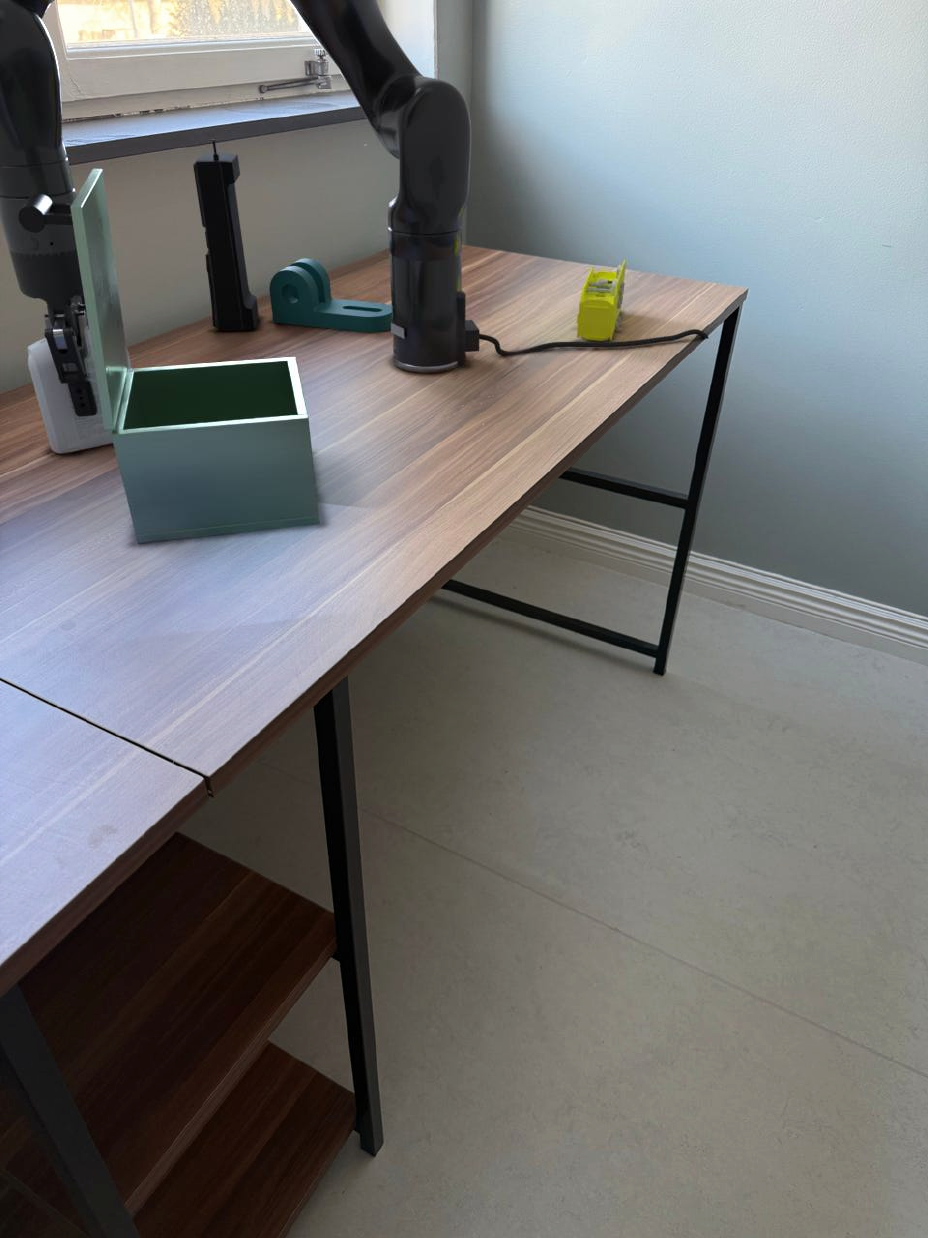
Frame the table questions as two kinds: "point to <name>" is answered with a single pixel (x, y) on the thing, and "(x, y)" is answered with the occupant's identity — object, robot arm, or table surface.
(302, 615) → the table surface
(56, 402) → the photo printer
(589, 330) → the yellow toy chassis
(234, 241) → the portable radio
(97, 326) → the lid
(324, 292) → the bracket
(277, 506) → the box
